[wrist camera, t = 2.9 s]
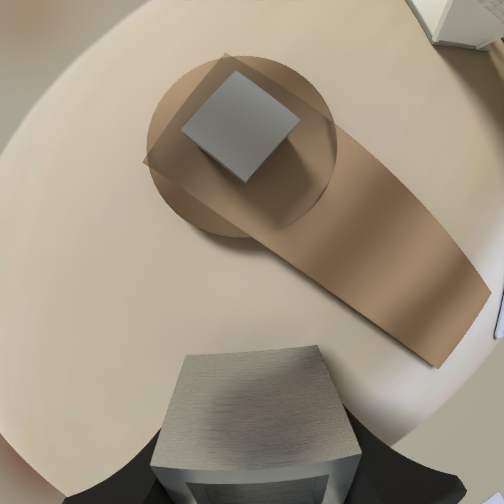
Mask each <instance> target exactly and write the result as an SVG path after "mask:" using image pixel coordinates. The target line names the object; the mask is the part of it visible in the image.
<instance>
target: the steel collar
mask: <svg viewBox="0 0 504 504" xmlns="http://www.w3.org/2000/svg"><path fill="white" fill-rule="evenodd" d="M361 455H362V451H361V449H360V446H359V444H358V441H357V439H356V436H355V434H354V432H353V429H352V427H351V424H350V422H349V419H348V417H347V414H346V412H345V410H344V407H343V405H342V402H341V400H340V397H339V395H338V393H337V390H336V388H335V386H334V383H333V381H332V378H331V376H330V374H329V371H328V369H327V367H326V364H325V362H324V360H323V357H322V355H321V353H320V350H319V348H318V346H317V345H314V346H306V347H298V348H289V349H280V350H270V351H258V352H245V353H230V354H208V355H186V357H185V360H184V362H183V365H182V368H181V371H180V374H179V377H178V380H177V383H176V386H175V389H174V392H173V395H172V398H171V401H170V404H169V407H168V410H167V413H166V416H165V419H164V422H163V425H162V428H161V431H160V434H159V437H158V440H157V444H156V447H155V450H154V453H153V456H152V459H151V463H150V467H151V468H152V470H153V472H154V473H155V475H156V476H157V478H158V479H159V481H160V482H161V484H162V485H163V487H164V488H165V490H166V491H167V493H168V494H169V496H170V497H171V498H172V500H173V501H174V503H175V504H343V503H344V501H345V499H346V496H347V494H348V491H349V489H350V486H351V483H352V481H353V478H354V475H355V473H356V470H357V467H358V464H359V461H360V458H361Z"/></svg>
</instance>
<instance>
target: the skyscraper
mask: <svg viewBox="0 0 504 504" xmlns="http://www.w3.org/2000/svg"><path fill="white" fill-rule="evenodd" d="M405 1H406V2H407V4H408V5H409V7H410V8H411V10H412V11H413V13H414V14H415V16H416V18H417V19H418V21H419V23H420V24H421V26H422V28H423V30H424V31H425V33H426V35H427V37H428V39H429V41H430V43H431V44H432V45H443V46H453V47H461V48H468V49H475V50H480V51H486V52H489V51H491V49H490V46H489V45H488V44H489V43H491V42H493V41H496V40H498V39H500V38H502V37H504V0H405Z"/></svg>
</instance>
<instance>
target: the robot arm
mask: <svg viewBox="0 0 504 504" xmlns="http://www.w3.org/2000/svg"><path fill="white" fill-rule="evenodd" d="M503 336H504V297H503V302H502V306H501V311H500V315H499V319H498V323H497V327H496V331H495V337H496V338H497V339H499V338H501V337H503ZM342 405H343V407H344V410H345V412H346V414H347V417H348V419H349V422H350V424H351V427H352V429H353V432H354V434H355V436H356V439H357V441H358V444H359V446H360V449H361V451H362V455H361V458H360V461H359V464H358V467H357V470H356V473H355V475H354V478H353V481H352V483H351V486H350V489H349V491H348V494H347V496H346V499H345V501H344V503H343V504H457V503H459V502H460V500H461V499H462V498H463V497H464V496H465V494H466V492H467V490H466V489H465V487H464V485H463V483H462V482H461V480H460V479H459V478H458V477H457V476H455V475H451V474H447V473H443V472H440V471H436V470H434V469H431V468H428V467H425V466H423V465H421V464H419V463H417V462H415V461H412V460H410V459H408V458H406V457H405V456H403V455H401V454H399V453H398V452H396V451H394V450H393V449H392V448H390V447H389V446H387V445H386V444H385V443H383V442H382V441H381V440H379V439H378V438H377V437H376V436H374V435H373V434H372V433H371V432H370V431H369V430H368V429H367V428H366V427H364V426H363V425H362V424H361V423H360V422H359V421H358V420H357V419H356V418H355V417H354V416H353V415H352V413H351V412H350V411H349V410H348V409H347V408H346V407H345V406H344V404H343V403H342ZM161 428H162V427H161ZM161 428H160V430H159V431H158V432H157V433H156V434H155V436H154V437H153V438H152V439H151V440H150V442H149V443H148V444H147V445H146V446H145V447H144V448H143V449H142V450H141V451H140V452H139V453H138V454H137V455H136V456H135V457H134V458H133V459H132V460H131V461H130V462H129V463H128V464H126V465H125V466H124V467H123V468H122V469H120V470H119V471H118V472H116V473H115V474H113V475H112V476H111V477H109V478H107V479H106V480H104V481H103V482H101V483H99V484H97V485H95V486H93V487H92V488H90V489H88V490H85V491H83V492H81V493H78V494H75V495H73V496H70V497H67V498H65V499H64V501H63V503H62V504H175V503H174V501H173V500H172V498H171V497H170V496H169V494H168V493H167V491H166V490H165V488H164V487H163V485H162V484H161V482H160V481H159V479H158V478H157V476H156V475H155V473H154V472H153V470H152V468H151V467H150V463H151V459H152V456H153V453H154V450H155V447H156V444H157V440H158V437H159V434H160V431H161ZM481 504H504V499H503V498H502V496H501V495H500V493H499V492H496V493H495V494H494V495H492V496H491V497H489V498H488V499H487V500H485V501H484V502H482V503H481Z"/></svg>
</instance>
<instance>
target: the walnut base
mask: <svg viewBox="0 0 504 504" xmlns="http://www.w3.org/2000/svg"><path fill="white" fill-rule="evenodd" d="M143 163H144V164H146V165H147V166H149V169H150V173H151V176H152V178H153V181H154V184H155V186H156V187H157V189H158V191H159V193H160V195H161V196H162V197H163V199H164V200H165V202H166V203H167V204H168V205H169V206H170V207H171V208H172V209H173V210H174V211H175V212H176V213H177V214H178V215H179V216H180V217H182V218H183V219H184V220H186V221H187V222H189V223H190V224H192V225H194V226H196V227H198V228H200V229H202V230H205V231H207V232H210V233H213V234H217V235H220V236H227V237H241V238H247V237H253V238H255V239H256V240H257V241H259V242H260V243H262V244H263V245H265V246H266V247H267V248H269V249H270V250H272V251H273V252H275V253H276V254H278V255H279V256H280V257H282V258H283V259H285V260H286V261H288V262H289V263H290V264H292V265H293V266H295V267H296V268H298V269H299V270H300V271H302V272H303V273H305V274H306V275H308V276H309V277H310V278H312V279H313V280H315V281H316V282H318V283H319V284H320V285H322V286H323V287H325V288H326V289H327V290H329V291H330V292H332V293H333V294H334V295H336V296H337V297H339V298H340V299H342V300H343V301H344V302H346V303H347V304H349V305H350V306H351V307H353V308H354V309H356V310H357V311H358V312H360V313H361V314H363V315H364V316H365V317H367V318H368V319H370V320H371V321H372V322H374V323H375V324H377V325H378V326H379V327H381V328H382V329H383V330H385V331H386V332H388V333H389V334H390V335H392V336H393V337H395V338H396V339H397V340H399V341H400V342H401V343H403V344H404V345H406V346H407V347H408V348H410V349H411V350H412V351H414V352H415V353H417V354H418V355H419V356H421V357H422V358H423V359H425V360H426V361H427V362H429V363H430V364H432V365H433V366H434V367H436V368H437V369H439V368H440V367H441V365H442V364H443V363H444V362H445V360H446V359H447V358H448V357H449V355H450V354H451V353H452V352H453V350H454V349H455V348H456V346H457V345H458V344H459V342H460V341H461V339H462V338H463V337H464V335H465V334H466V332H467V331H468V330H469V328H470V327H471V325H472V324H473V322H474V321H475V319H476V318H477V316H478V314H479V313H480V311H481V310H482V308H483V307H484V305H485V303H486V302H487V300H488V298H489V297H490V295H491V291H490V290H489V288H488V287H487V285H486V284H485V282H484V281H483V279H482V278H481V276H480V275H479V273H478V272H477V271H476V269H475V268H474V266H473V265H472V264H471V262H470V261H469V260H468V258H467V257H466V256H465V254H464V253H463V252H462V250H461V249H460V248H459V246H458V245H457V244H456V243H455V241H454V240H453V239H452V238H451V236H450V235H449V234H448V233H447V232H446V230H445V229H444V228H443V227H442V226H441V224H440V223H439V222H438V221H437V220H436V219H435V217H434V216H433V215H432V214H431V213H430V212H429V211H428V210H427V209H426V207H425V206H424V205H423V204H422V203H421V202H420V201H419V200H418V199H417V198H416V197H415V196H414V195H413V194H412V193H411V191H410V190H409V189H408V188H407V187H406V186H405V185H404V184H403V183H402V182H401V181H400V180H399V179H398V178H397V177H396V176H394V175H393V174H392V173H391V172H390V171H389V170H388V169H387V168H386V167H385V166H384V165H383V164H382V163H381V162H380V161H379V160H377V159H376V158H375V157H374V156H373V155H372V154H371V153H370V152H368V151H367V150H366V149H365V148H364V147H363V146H362V145H360V144H359V143H358V142H357V141H356V140H354V139H353V138H352V137H351V136H350V135H348V134H347V133H346V132H345V131H344V130H342V129H341V128H340V127H339V126H337V125H336V124H335V123H334V121H333V117H332V115H331V113H330V110H329V108H328V106H327V104H326V102H325V101H324V99H323V97H322V96H321V95H320V93H319V92H318V91H317V90H316V88H315V87H314V86H313V85H312V84H311V83H310V82H309V81H308V80H307V79H305V78H304V77H303V76H301V75H300V74H299V73H297V72H296V71H294V70H293V69H291V68H289V67H287V66H285V65H283V64H280V63H278V62H275V61H272V60H269V59H265V58H260V57H253V56H234V57H232V56H230V55H228V54H226V53H225V54H224V55H223V56H222V57H221V59H217V60H213V61H210V62H208V63H205V64H202V65H201V66H199V67H197V68H195V69H193V70H191V71H190V72H188V73H187V74H185V75H184V76H182V77H181V78H180V79H179V80H178V81H177V82H175V83H174V84H173V85H172V86H171V88H170V89H169V90H168V91H167V92H166V93H165V95H164V96H163V98H162V99H161V101H160V102H159V104H158V106H157V108H156V110H155V112H154V114H153V117H152V120H151V123H150V126H149V131H148V136H147V156H146V158H145V159H144V161H143Z"/></svg>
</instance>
